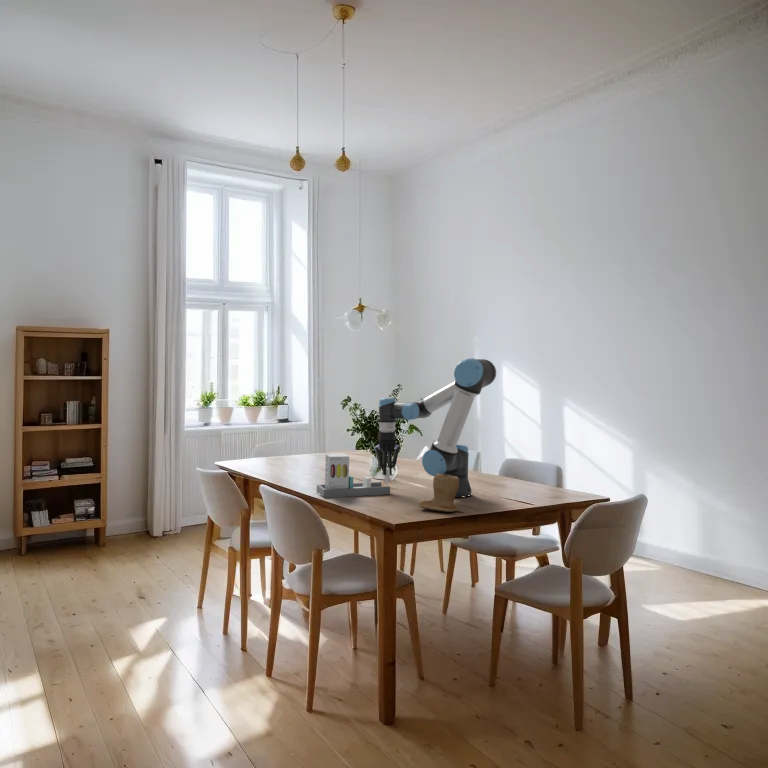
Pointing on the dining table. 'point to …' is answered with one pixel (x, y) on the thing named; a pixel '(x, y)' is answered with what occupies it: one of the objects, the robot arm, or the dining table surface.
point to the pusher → (365, 482)
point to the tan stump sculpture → (442, 494)
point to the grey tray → (354, 490)
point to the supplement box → (336, 471)
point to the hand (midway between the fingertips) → (387, 482)
